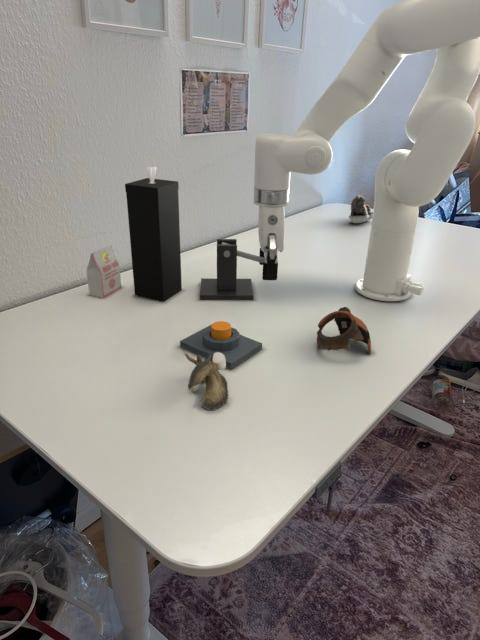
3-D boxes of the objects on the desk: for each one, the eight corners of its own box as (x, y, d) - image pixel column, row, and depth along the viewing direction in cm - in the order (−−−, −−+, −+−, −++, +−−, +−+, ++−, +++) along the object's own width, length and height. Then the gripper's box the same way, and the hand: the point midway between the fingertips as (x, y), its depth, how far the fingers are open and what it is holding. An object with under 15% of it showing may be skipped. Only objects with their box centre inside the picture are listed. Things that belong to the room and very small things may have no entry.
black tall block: (182, 290, 111) (178, 165, 98) (163, 302, 105) (156, 170, 92) (153, 284, 114) (146, 161, 101) (134, 296, 107) (123, 167, 95)
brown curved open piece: (378, 365, 84) (364, 333, 79) (327, 378, 87) (311, 349, 83) (370, 320, 93) (356, 289, 88) (323, 334, 96) (308, 305, 92)
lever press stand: (250, 283, 116) (252, 235, 110) (253, 300, 107) (255, 249, 102) (201, 283, 115) (200, 235, 110) (199, 300, 106) (198, 249, 101)
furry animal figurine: (172, 374, 77) (176, 397, 69) (194, 337, 76) (201, 356, 68) (212, 393, 80) (220, 418, 71) (234, 357, 79) (245, 379, 70)
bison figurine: (356, 217, 174) (360, 189, 170) (375, 220, 171) (379, 191, 166) (345, 224, 165) (348, 195, 161) (364, 228, 162) (369, 198, 157)
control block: (262, 349, 87) (262, 334, 86) (231, 369, 81) (231, 354, 80) (212, 329, 94) (212, 315, 93) (180, 347, 87) (179, 332, 86)
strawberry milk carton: (89, 295, 107) (84, 252, 103) (108, 284, 113) (104, 244, 109) (103, 298, 106) (98, 255, 102) (121, 287, 112) (117, 246, 107)
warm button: (235, 335, 87) (235, 325, 86) (222, 342, 84) (222, 332, 83) (219, 329, 88) (219, 319, 88) (207, 336, 86) (206, 326, 85)
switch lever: (269, 264, 111) (272, 254, 110) (271, 271, 107) (274, 261, 106) (219, 249, 109) (222, 239, 108) (219, 256, 105) (222, 246, 104)
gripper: (294, 206, 94) (288, 286, 102) (284, 188, 109) (279, 259, 117) (256, 205, 94) (253, 286, 101) (251, 187, 109) (249, 259, 117)
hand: (267, 271), depth 109 cm, fingers open, 9 cm apart
